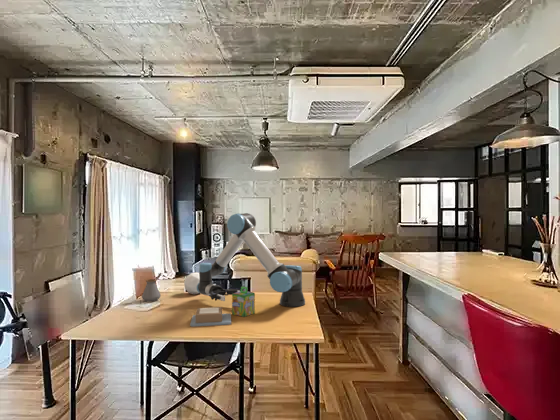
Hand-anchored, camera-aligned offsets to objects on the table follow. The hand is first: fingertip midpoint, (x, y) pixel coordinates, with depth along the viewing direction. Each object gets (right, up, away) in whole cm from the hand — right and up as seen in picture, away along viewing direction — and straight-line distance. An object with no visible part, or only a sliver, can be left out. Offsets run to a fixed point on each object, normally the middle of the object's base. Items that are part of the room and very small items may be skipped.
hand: (234, 296), depth 221 cm
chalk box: (+6, -9, -6) cm, 12 cm away
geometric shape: (-32, -8, +47) cm, 57 cm away
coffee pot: (-55, -9, +33) cm, 65 cm away
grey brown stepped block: (-10, -9, -18) cm, 22 cm away
